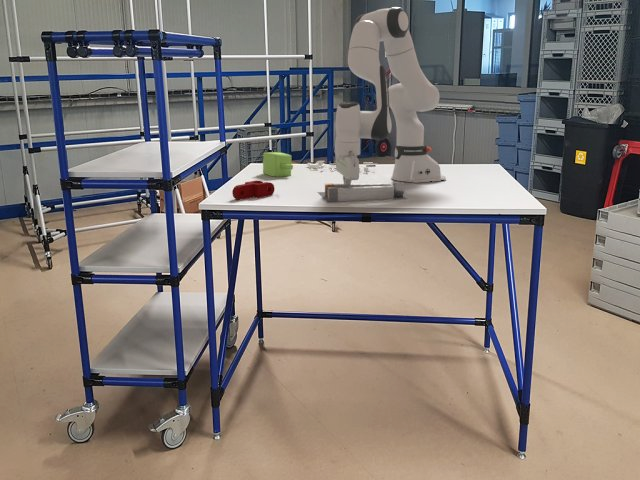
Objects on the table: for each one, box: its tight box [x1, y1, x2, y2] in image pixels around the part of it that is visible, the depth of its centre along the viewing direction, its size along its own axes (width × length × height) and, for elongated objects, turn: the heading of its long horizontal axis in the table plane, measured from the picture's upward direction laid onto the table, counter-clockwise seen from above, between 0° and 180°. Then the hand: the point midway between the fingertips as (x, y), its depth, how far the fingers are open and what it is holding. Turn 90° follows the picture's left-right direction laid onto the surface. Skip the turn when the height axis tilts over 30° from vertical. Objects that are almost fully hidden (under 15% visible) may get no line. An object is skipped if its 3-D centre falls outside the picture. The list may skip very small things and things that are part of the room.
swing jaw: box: [324, 182, 392, 197], centre depth 205 cm, size 23×3×4 cm, turn 93°
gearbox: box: [262, 151, 294, 178], centre depth 255 cm, size 18×10×10 cm, turn 33°
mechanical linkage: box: [231, 179, 275, 201], centre depth 210 cm, size 16×7×5 cm, turn 138°
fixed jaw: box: [327, 181, 405, 203], centre depth 201 cm, size 28×5×5 cm, turn 102°
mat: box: [316, 191, 407, 204], centre depth 207 cm, size 28×18×1 cm, turn 102°
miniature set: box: [306, 160, 376, 173], centre depth 268 cm, size 6×35×12 cm
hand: (347, 188), depth 207 cm, fingers closed
